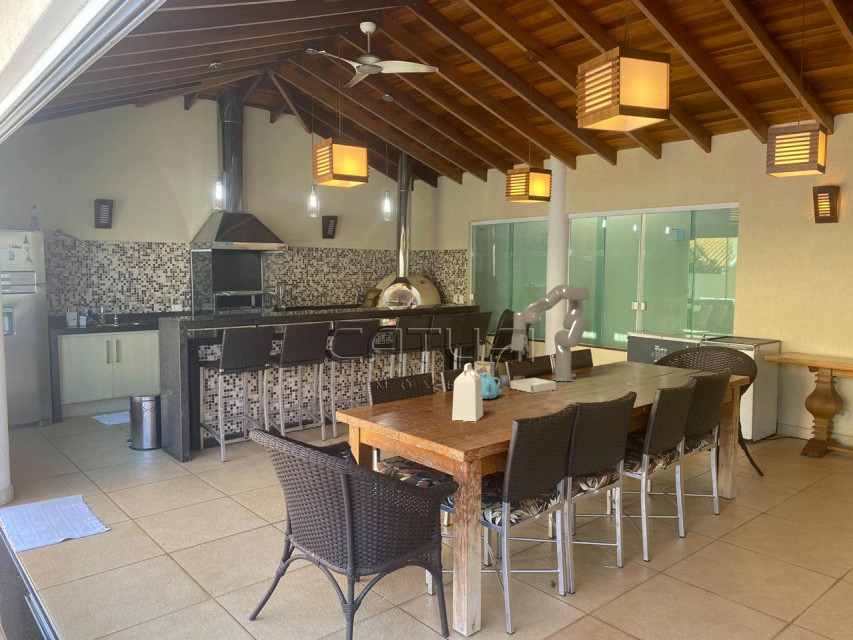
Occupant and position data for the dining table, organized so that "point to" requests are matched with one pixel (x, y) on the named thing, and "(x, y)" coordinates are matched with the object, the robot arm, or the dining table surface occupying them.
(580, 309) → the robot arm
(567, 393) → the dining table surface
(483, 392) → the decorative pot
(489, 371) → the candy bar box
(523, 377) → the walnut cube
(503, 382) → the slate capsule
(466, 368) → the milk
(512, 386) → the tote
